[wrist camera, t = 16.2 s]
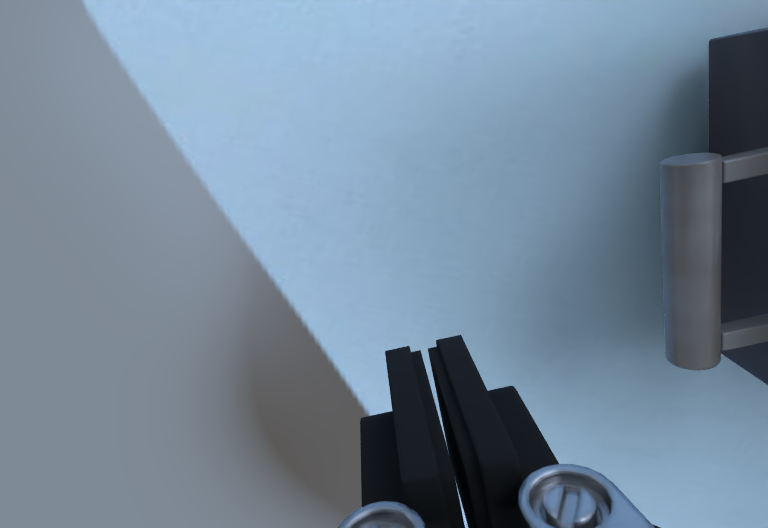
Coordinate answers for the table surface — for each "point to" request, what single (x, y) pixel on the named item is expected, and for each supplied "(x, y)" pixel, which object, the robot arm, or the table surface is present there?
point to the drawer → (721, 220)
